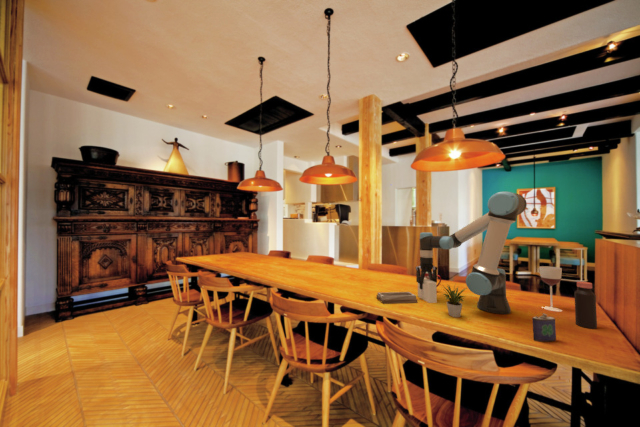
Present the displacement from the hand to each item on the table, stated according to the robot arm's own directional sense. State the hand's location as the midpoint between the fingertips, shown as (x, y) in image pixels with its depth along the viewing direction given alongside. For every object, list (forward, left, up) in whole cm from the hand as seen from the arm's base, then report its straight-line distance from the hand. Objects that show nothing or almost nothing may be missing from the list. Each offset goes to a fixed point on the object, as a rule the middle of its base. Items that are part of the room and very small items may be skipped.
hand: (426, 294), depth 155 cm
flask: (-57, -18, -4) cm, 60 cm away
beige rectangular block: (0, 0, -3) cm, 3 cm away
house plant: (-27, +2, -4) cm, 27 cm away
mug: (+17, -13, -4) cm, 22 cm away
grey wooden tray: (0, +20, -3) cm, 20 cm away
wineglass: (-23, -61, -4) cm, 65 cm away
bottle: (-46, -52, -4) cm, 70 cm away
